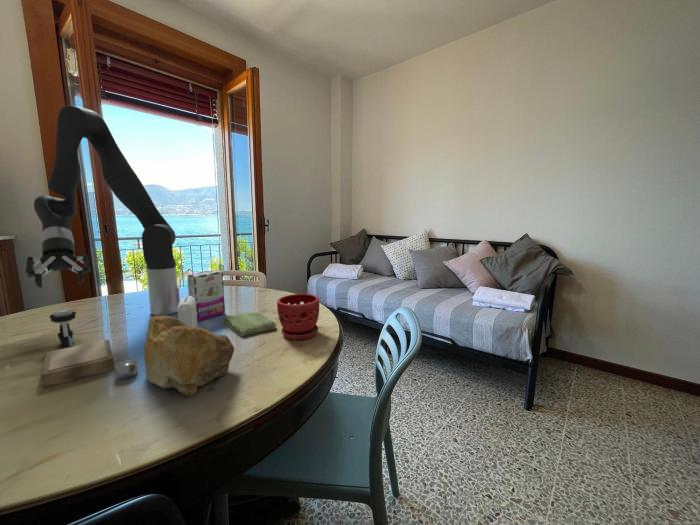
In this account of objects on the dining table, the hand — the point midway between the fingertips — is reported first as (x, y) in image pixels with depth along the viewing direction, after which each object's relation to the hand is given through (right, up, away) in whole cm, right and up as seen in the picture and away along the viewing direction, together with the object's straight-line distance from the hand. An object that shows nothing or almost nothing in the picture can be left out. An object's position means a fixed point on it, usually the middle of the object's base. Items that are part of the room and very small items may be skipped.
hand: (60, 284), depth 91 cm
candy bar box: (+36, -13, +19) cm, 43 cm away
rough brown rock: (+53, -20, -22) cm, 60 cm away
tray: (+22, -19, -18) cm, 34 cm away
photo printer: (+38, -16, +1) cm, 42 cm away
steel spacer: (+36, -20, -22) cm, 47 cm away
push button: (+8, -17, -6) cm, 19 cm away
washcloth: (+54, -15, +11) cm, 57 cm away
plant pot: (+72, -17, +5) cm, 74 cm away
